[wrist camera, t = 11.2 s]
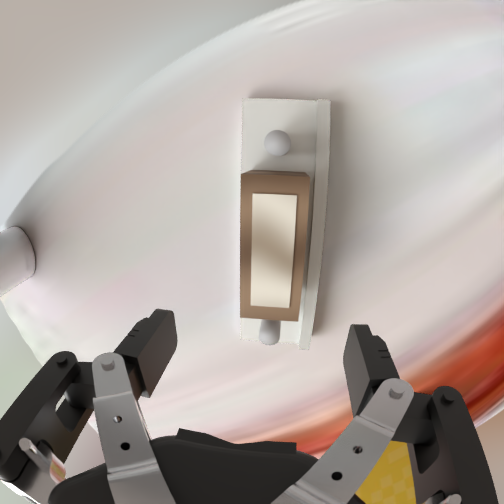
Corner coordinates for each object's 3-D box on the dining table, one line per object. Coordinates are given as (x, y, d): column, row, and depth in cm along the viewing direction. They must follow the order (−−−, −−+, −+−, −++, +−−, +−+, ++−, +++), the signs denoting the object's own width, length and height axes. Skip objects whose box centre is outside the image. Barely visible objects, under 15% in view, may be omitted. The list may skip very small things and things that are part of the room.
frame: (297, 290, 29) (298, 322, 23) (249, 287, 30) (240, 318, 24) (305, 172, 25) (310, 177, 19) (251, 169, 26) (240, 174, 20)
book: (414, 393, 35) (454, 527, 11) (429, 406, 35) (466, 525, 12) (332, 441, 40) (335, 564, 17) (353, 451, 41) (360, 562, 18)
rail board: (242, 332, 34) (233, 367, 28) (244, 101, 25) (232, 86, 19) (308, 337, 33) (310, 373, 27) (326, 104, 24) (338, 90, 18)
